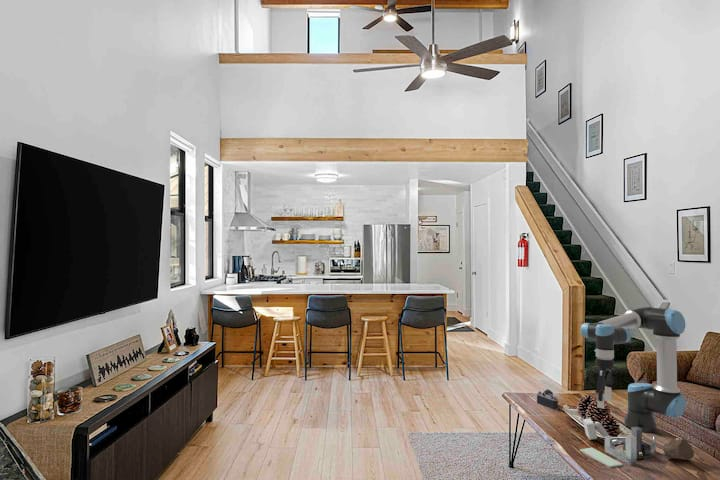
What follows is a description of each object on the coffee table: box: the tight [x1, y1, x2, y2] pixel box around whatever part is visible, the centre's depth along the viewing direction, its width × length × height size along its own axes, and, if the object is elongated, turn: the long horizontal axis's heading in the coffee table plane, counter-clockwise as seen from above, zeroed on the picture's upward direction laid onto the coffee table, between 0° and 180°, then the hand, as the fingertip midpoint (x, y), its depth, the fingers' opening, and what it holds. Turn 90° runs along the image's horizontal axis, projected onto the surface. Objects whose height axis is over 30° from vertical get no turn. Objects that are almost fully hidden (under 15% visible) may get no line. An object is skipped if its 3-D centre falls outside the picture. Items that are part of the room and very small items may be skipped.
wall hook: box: [582, 418, 610, 441], centre depth 237 cm, size 8×10×10 cm
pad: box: [579, 447, 624, 469], centre depth 215 cm, size 7×18×1 cm, turn 16°
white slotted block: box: [604, 434, 638, 466], centre depth 216 cm, size 3×15×12 cm, turn 16°
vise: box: [611, 427, 657, 460], centre depth 220 cm, size 24×8×12 cm, turn 106°
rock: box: [662, 437, 695, 461], centre depth 215 cm, size 12×10×10 cm
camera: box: [536, 388, 559, 411], centre depth 288 cm, size 16×8×10 cm, turn 24°
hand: (604, 404), depth 219 cm, fingers open, 13 cm apart
